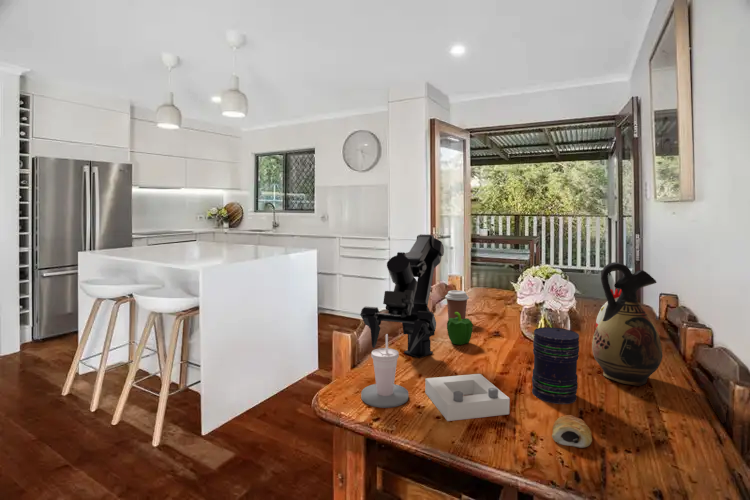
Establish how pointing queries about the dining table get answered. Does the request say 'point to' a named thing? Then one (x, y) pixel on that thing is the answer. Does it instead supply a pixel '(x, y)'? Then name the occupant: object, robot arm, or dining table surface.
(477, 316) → the dining table surface
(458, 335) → the bell pepper
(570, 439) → the pastry
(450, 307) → the coffee cup
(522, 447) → the dining table surface
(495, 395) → the holder
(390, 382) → the smoothie
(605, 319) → the ceramic jug
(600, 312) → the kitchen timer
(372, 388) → the coaster
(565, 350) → the storage jar
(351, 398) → the dining table surface
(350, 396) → the dining table surface
